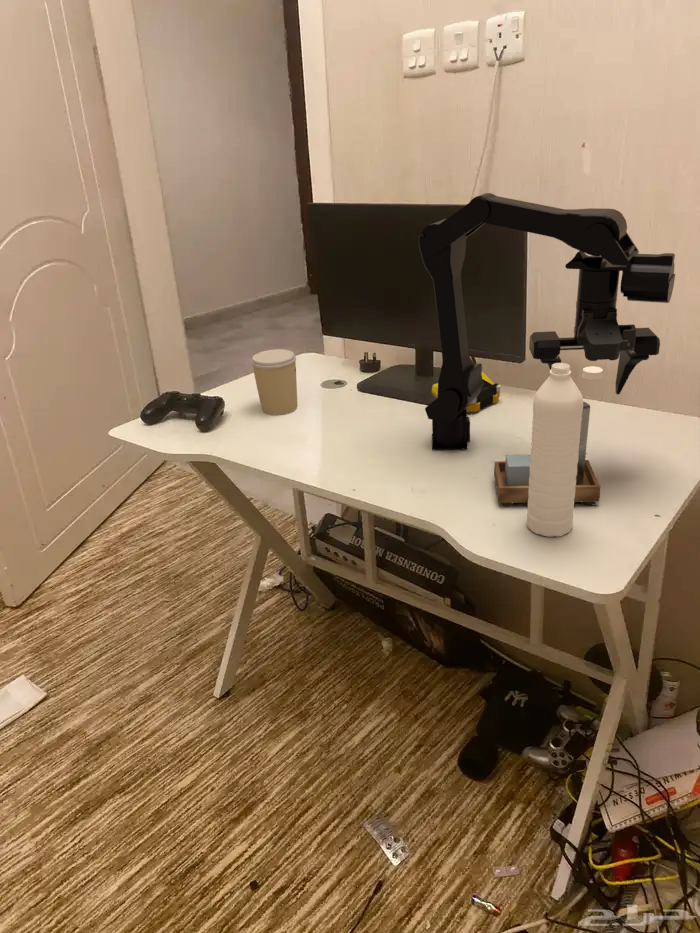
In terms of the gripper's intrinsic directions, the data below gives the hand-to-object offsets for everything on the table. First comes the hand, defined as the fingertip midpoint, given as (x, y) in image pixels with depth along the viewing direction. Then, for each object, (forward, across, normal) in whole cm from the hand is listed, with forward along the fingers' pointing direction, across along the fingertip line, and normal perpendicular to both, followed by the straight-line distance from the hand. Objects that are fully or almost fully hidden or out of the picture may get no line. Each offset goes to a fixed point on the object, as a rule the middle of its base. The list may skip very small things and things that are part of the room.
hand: (587, 394), depth 112 cm
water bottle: (+13, -7, -20) cm, 25 cm away
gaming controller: (+13, -17, +29) cm, 37 cm away
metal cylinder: (+11, -4, -9) cm, 15 cm away
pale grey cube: (+11, -12, -9) cm, 18 cm away
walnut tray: (+13, -8, -9) cm, 18 cm away
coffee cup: (+13, -58, +29) cm, 66 cm away
